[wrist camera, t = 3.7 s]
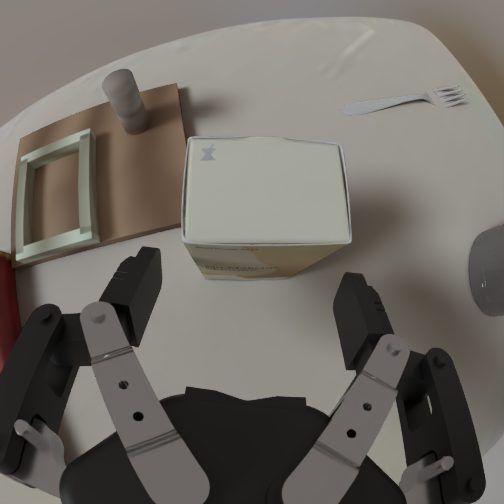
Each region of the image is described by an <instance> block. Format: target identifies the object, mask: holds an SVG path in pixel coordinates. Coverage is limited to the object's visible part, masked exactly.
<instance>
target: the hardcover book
mask: <svg viewBox="0 0 504 504" xmlns="http://www.w3.org/2000/svg"><path fill="white" fill-rule="evenodd" d="M21 332H22V329H21V323H20V317H19V310H18V303H17V294H16V284H15V271H14V269H13V268H12V263H11V254H9V253H6V252H3V251H0V373H1V370H2V368H3V366H4V364H5V362H6V360H7V358H8V356H9V354H10V352H11V350H12V348H13V346H14V344H15V343H16V341H17V339H18V337H19V335H20V333H21Z"/></svg>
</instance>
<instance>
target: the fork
mask: <svg viewBox="0 0 504 504" xmlns="http://www.w3.org/2000/svg"><path fill="white" fill-rule="evenodd" d="M458 86H459V85H455V86H449V87H443V88H436V89H433V91H434V92H436V91H442V90H447V89H451V88H455V87H458ZM459 91H462V89H459V90H454V91H450V92H445V93H436V95H437V96H438V97H441V96H445V95H449V94H453V93H456V92H459ZM463 95H466V94H465V93H464V94H460V95H456V96H452V97H449V98H445V99H441V98H439V99H440V100H441V102H442V103H444V102H447V101H449V100H452V99H455V98H458V97H461V96H463ZM417 99H424V100H426V101H428V102H429V103H430V104H432V105H435V104H434V102H433V101H432V100H431V98H430V97H429V95H428V94H427V93H426V92H425V93H424V94H417V95H410V96H403V97H395V98H387V99H377V100H370V101H362V102H355V103H350V104H347V105H344V106H343V107H342V108H341V109H340V112H341V113H343V114H346V115H350V116H354V115H362V114H366V113H370V112H375V111H378V110H382V109H385V108H388V107H391V106H394V105H397V104H401V103H404V102H408V101H412V100H417ZM467 99H468V98H465V99H461V100H458V101H455V102H453V103H450V104H443V105H444V106H445V107H451V106H453V105H456V104H458V103H460V102H463V101H465V100H467Z"/></svg>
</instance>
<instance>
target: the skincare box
mask: <svg viewBox="0 0 504 504" xmlns="http://www.w3.org/2000/svg"><path fill="white" fill-rule="evenodd" d="M181 239H182V242H183V243H184V245H185V247H186V248H187V250H188V251H189V253H190V255H191V257H192V258H193V260H194V262H195V263H196V265H197V267H198V268H199V269H200V271H201V273H202V275H203V276H204V278H205V279H207V280H226V281H258V280H282V279H287V278H289V277H291V276H292V275H294V274H296V273H298V272H300V271H302V270H303V269H305V268H307V267H309V266H311V265H312V264H314V263H316V262H318V261H320V260H321V259H323V258H325V257H327V256H329V255H331V254H332V253H334V252H336V251H338V250H339V249H341V248H343V247H345V246H347V245H348V244H350V243H351V242H352V231H351V213H350V201H349V190H348V182H347V172H346V165H345V159H344V152H343V148H342V146H341V145H339V144H338V143H333V142H322V141H312V140H302V139H289V138H279V137H269V136H252V137H242V136H202V137H199V136H193V137H189V138H188V142H187V151H186V158H185V168H184V179H183V191H182V211H181Z"/></svg>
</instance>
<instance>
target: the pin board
mask: <svg viewBox="0 0 504 504" xmlns="http://www.w3.org/2000/svg"><path fill="white" fill-rule="evenodd" d="M102 88H103V90H104V92H105V94H106V96H107V98H108V100H109V102H106V103H103V104H100V105H98V106H95V107H92V108H89V109H87V110H84V111H81V112H79V113H76V114H74V115H71V116H69V117H66V118H64V119H61V120H59V121H57V122H54V123H52V124H50V125H48V126H45V127H43V128H41V129H39V130H37V131H35V132H33V133H31V134H29V135H27V136H25V137H23V138H21V139H20V143H19V148H18V154H17V161H16V168H15V176H14V186H13V197H12V214H11V263H12V268H13V269H17V270H19V269H22V268H25V267H29V266H32V265H36V264H39V263H42V262H46V261H49V260H53V259H56V258H60V257H64V256H67V255H71V254H75V253H78V252H82V251H86V250H89V249H93V248H97V247H101V246H105V245H108V244H112V243H116V242H120V241H124V240H128V239H132V238H136V237H140V236H144V235H149V234H153V233H157V232H161V231H165V230H170V229H174V228H178V227H181V211H182V191H183V179H184V168H185V158H186V151H187V145H186V139H185V132H184V126H183V120H182V113H181V106H180V100H179V93H178V87H177V83H175V84H170V85H166V86H162V87H158V88H154V89H150V90H146V91H142V92H139V90H138V87H137V85H136V82H135V79H134V77H133V74H132V72H131V71H130V70H128V69H120V70H117V71H114V72H112V73H111V74H109V75H108V76H107V77H106V78H105V79H104V81H103V83H102Z"/></svg>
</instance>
